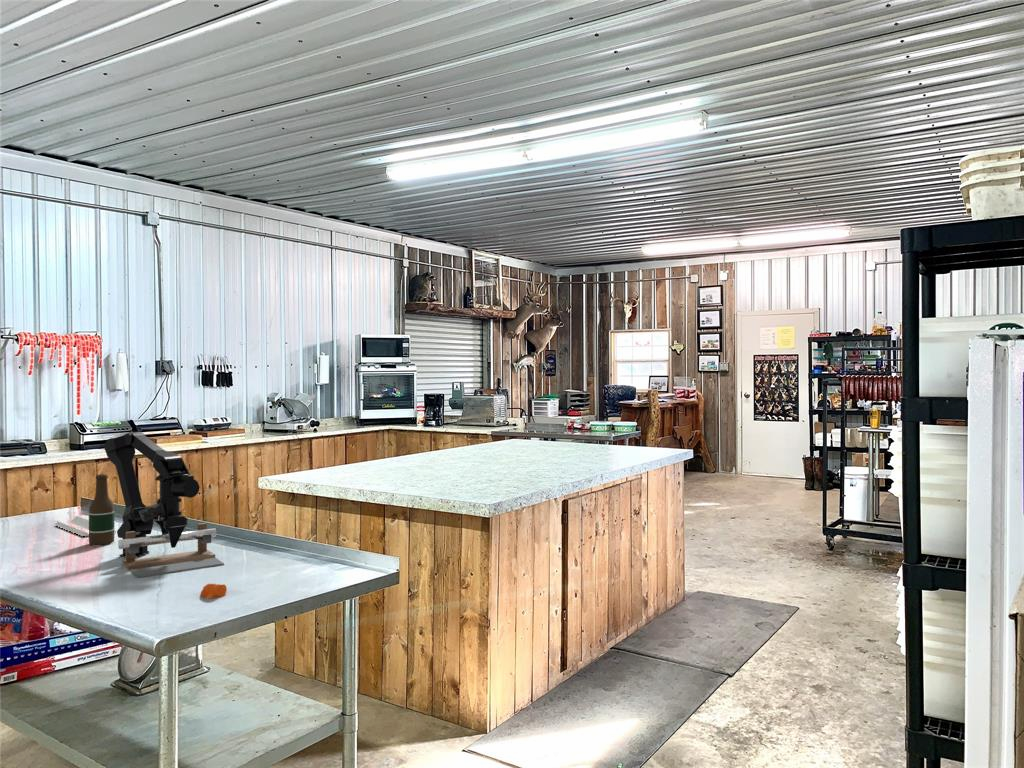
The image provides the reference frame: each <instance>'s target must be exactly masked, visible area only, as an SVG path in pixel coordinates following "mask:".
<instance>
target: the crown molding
mask: <svg viewBox="0 0 1024 768" xmlns="http://www.w3.org/2000/svg"><path fill="white" fill-rule="evenodd" d="M69 523H72V524H75V525H77V526H80V527H82V528H85V529H87V530H89V518H87V517H84V516H80V515H75V516H74V518H73V519H72V520H71V521H69ZM66 524H67V523H63V522H61V521H56V522H55V524H54V525H56V526H59V527H62V528H64V529H66V530H69V531H71V532H74V533H76V534H78V535H77V536H79V535H81V536H85V537H89V534H88V533H87V532H84V531H82V530H79V529H76V528H74V527H71V526H69V525H66ZM56 526H55V527H56ZM59 527H58V528H59ZM64 529H63V530H64ZM66 530H65V531H66ZM69 531H68V532H69ZM71 532H70V533H71ZM114 532H117V530H115V529H114ZM74 533H73V534H74ZM76 534H75V535H76ZM81 536H80V537H81Z"/></svg>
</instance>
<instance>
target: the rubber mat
mask: <svg viewBox="0 0 1024 768" xmlns="http://www.w3.org/2000/svg"><path fill="white" fill-rule="evenodd" d="M218 566H225V563H224V561H221V560H220V559H218V558H217V557H215V558H210V559H203V560H196V561H189V562H182V563H175V564H168V565H161V566H154V567H148V568H141V569H134V570H130V572H131V573H132V574H133V575H134V576H135V577H136V578H137V579H140V577H141V578H146V577H147V576H148V577H153V575H154V576H160V575H159V574H161V575H166V574H167V573H168V574H174V573H180V572H186V571H187V572H188V571H193V570H200V569H205V568H207V569H208V568H213V567H218ZM168 574H167V575H168ZM148 577H147V578H148Z"/></svg>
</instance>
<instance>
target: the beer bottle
mask: <svg viewBox="0 0 1024 768" xmlns="http://www.w3.org/2000/svg"><path fill="white" fill-rule="evenodd" d="M108 477H109V476H108V474H105V473H101V474H96V476H95V480H96V481H95V482H96V484H95V492H94V493H95V494H94V499H93V500H92V502H91V503H90V505H89V508H88V519H89V536H88V543H89V545H90V544H91V545H90V546H93V545H101V546H104V545H103V544H108V545H110V544H109V543H112V542H113V543H114V542H115V533H114V530H115V505H114V502H113V500H111V498H110V496H109V490H108V489H109V488H108V479H109V478H108ZM113 543H112V544H113Z"/></svg>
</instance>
